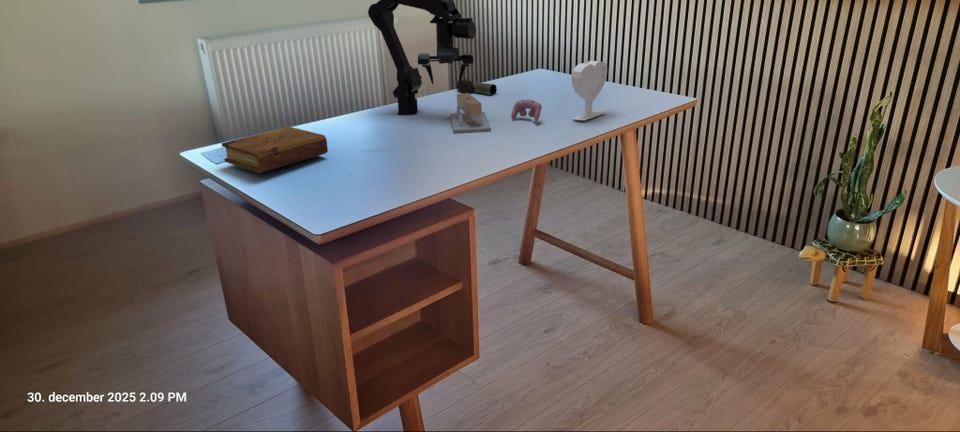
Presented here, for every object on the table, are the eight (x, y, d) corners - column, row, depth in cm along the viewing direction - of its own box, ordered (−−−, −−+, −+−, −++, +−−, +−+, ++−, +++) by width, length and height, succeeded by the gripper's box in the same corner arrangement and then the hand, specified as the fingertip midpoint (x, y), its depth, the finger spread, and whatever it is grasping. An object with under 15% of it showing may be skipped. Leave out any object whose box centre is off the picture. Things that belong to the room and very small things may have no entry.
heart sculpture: (581, 121, 223) (582, 67, 216) (569, 119, 226) (570, 65, 219) (607, 112, 233) (609, 59, 226) (595, 110, 236) (597, 58, 229)
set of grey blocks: (459, 126, 218) (459, 115, 217) (457, 116, 230) (456, 106, 229) (482, 125, 219) (482, 114, 217) (479, 115, 231) (478, 105, 229)
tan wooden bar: (469, 116, 215) (469, 104, 214) (457, 105, 230) (456, 93, 228) (481, 115, 216) (481, 102, 215) (468, 104, 231) (468, 92, 229)
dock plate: (453, 133, 214) (453, 130, 214) (450, 116, 234) (450, 113, 234) (490, 131, 215) (490, 127, 215) (484, 114, 235) (484, 111, 235)
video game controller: (541, 122, 226) (543, 101, 225) (537, 121, 222) (539, 100, 221) (514, 119, 230) (516, 99, 229) (509, 119, 226) (511, 98, 225)
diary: (261, 174, 184) (257, 154, 182) (224, 162, 195) (221, 143, 193) (328, 153, 200) (326, 134, 198) (291, 143, 211) (288, 125, 209)
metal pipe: (497, 94, 262) (496, 79, 259) (487, 97, 257) (486, 82, 255) (462, 91, 272) (461, 77, 270) (451, 94, 267) (450, 80, 265)
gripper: (416, 41, 216) (418, 89, 223) (474, 40, 218) (474, 88, 224) (417, 36, 227) (419, 82, 233) (472, 35, 228) (472, 81, 234)
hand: (446, 83), depth 231 cm, fingers open, 9 cm apart
